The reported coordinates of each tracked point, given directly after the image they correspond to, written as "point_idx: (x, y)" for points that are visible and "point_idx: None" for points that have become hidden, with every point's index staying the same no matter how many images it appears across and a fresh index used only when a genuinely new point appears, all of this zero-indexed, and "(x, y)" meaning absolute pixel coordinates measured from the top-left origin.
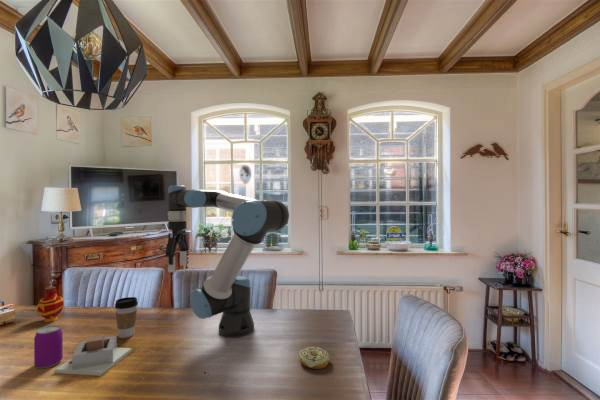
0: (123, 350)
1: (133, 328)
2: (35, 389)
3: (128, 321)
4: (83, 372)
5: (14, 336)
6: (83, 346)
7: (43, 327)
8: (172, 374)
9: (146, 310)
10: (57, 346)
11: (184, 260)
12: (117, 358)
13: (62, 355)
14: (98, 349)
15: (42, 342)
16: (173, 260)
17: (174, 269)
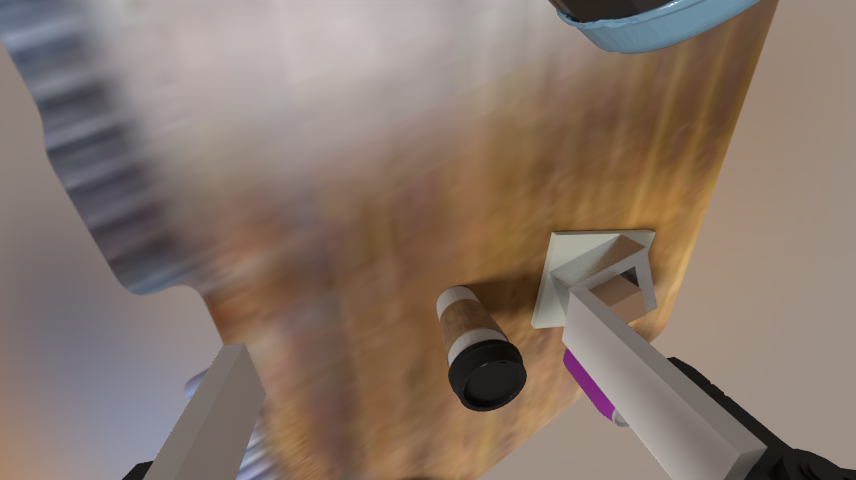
0: (565, 247)
1: (463, 295)
2: (663, 303)
3: (490, 316)
4: None
5: (467, 476)
6: None
7: (622, 426)
8: (689, 52)
9: (264, 362)
10: None
11: (223, 412)
12: (603, 235)
13: None
14: (638, 278)
15: None
16: (696, 399)
17: (606, 306)
